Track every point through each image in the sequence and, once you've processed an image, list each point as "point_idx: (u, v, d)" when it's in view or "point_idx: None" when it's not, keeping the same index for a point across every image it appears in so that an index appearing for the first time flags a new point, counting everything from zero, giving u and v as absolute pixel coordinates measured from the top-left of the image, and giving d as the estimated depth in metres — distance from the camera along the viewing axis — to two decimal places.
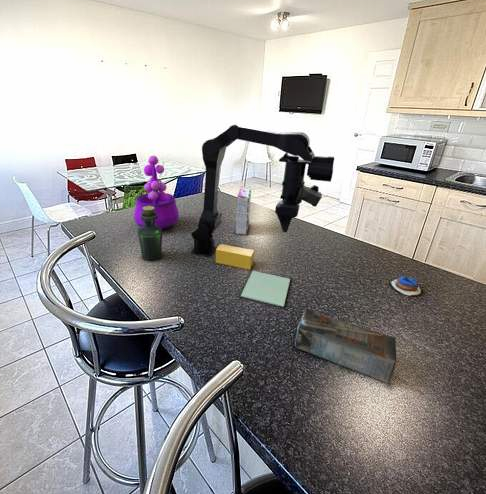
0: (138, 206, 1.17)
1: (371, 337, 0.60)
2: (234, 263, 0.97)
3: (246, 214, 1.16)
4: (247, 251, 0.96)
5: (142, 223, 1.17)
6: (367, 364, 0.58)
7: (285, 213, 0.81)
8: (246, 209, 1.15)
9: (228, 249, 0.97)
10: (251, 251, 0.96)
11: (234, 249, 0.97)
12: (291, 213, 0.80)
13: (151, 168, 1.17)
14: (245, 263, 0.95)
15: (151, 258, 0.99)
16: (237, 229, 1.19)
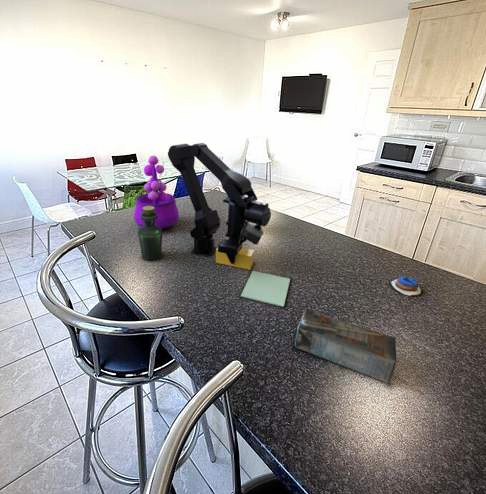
0: (138, 206, 1.17)
1: (371, 337, 0.60)
2: (234, 263, 0.97)
3: None
4: (247, 251, 0.96)
5: (142, 223, 1.17)
6: (367, 364, 0.58)
7: (226, 252, 0.88)
8: None
9: None
10: (251, 251, 0.96)
11: None
12: (231, 252, 0.87)
13: (151, 168, 1.17)
14: (245, 263, 0.95)
15: (151, 258, 0.99)
16: None
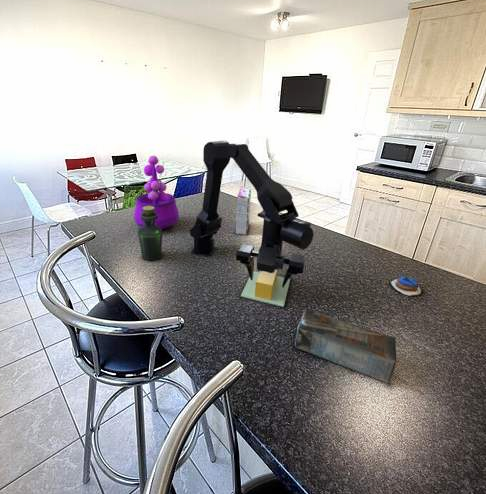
0: (138, 206, 1.17)
1: (371, 337, 0.61)
2: None
3: (246, 214, 1.16)
4: (267, 280, 0.80)
5: (142, 223, 1.17)
6: (367, 364, 0.58)
7: None
8: (246, 209, 1.15)
9: None
10: (268, 283, 0.79)
11: None
12: None
13: (151, 168, 1.17)
14: None
15: (151, 258, 0.99)
16: (237, 229, 1.19)
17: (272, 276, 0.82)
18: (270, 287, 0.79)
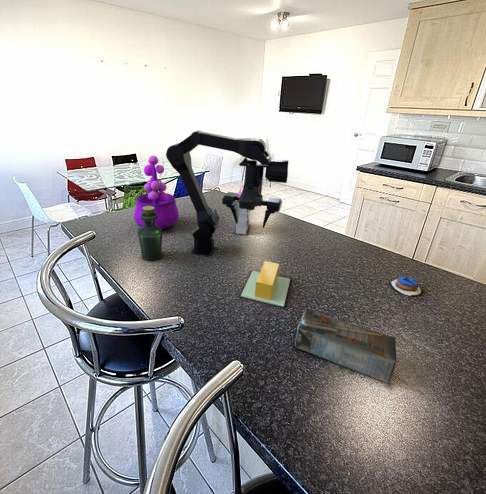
0: (138, 206, 1.17)
1: (371, 337, 0.61)
2: None
3: (246, 214, 1.16)
4: (267, 280, 0.80)
5: (142, 223, 1.17)
6: (367, 364, 0.58)
7: None
8: (246, 209, 1.15)
9: (267, 268, 0.86)
10: (268, 283, 0.79)
11: (269, 272, 0.84)
12: None
13: (151, 168, 1.17)
14: None
15: (151, 258, 0.99)
16: (237, 229, 1.19)
17: (272, 276, 0.82)
18: (270, 287, 0.79)
